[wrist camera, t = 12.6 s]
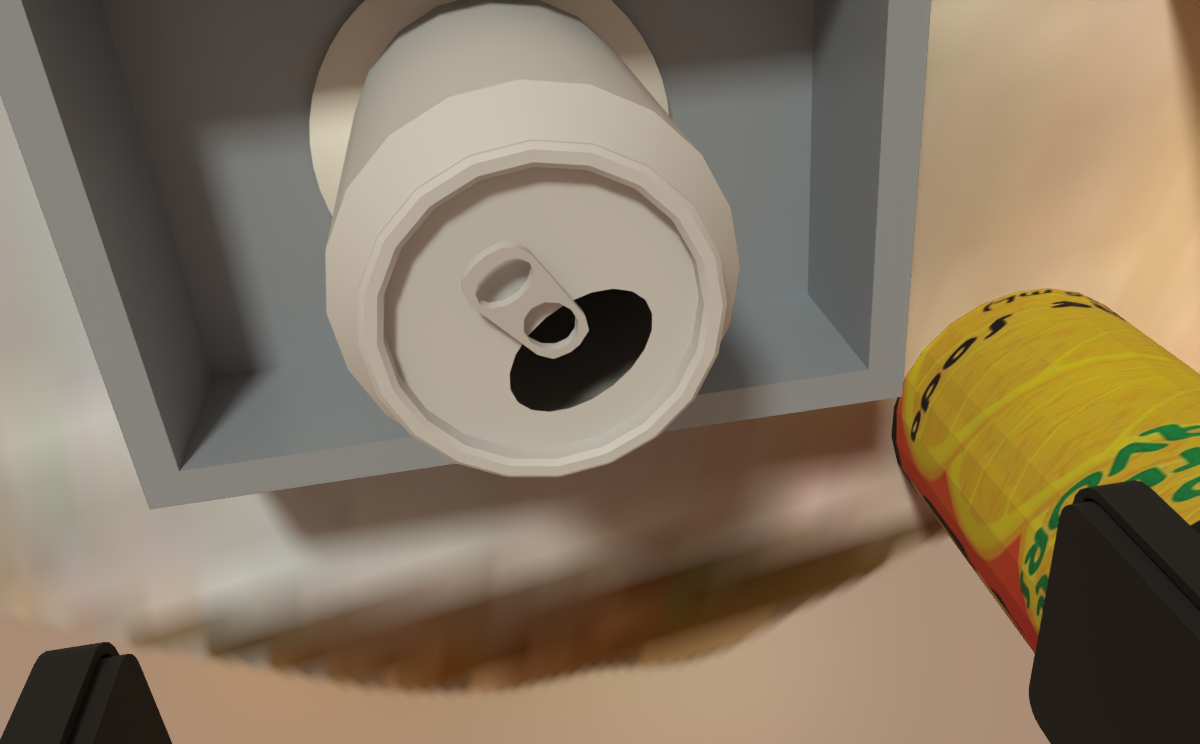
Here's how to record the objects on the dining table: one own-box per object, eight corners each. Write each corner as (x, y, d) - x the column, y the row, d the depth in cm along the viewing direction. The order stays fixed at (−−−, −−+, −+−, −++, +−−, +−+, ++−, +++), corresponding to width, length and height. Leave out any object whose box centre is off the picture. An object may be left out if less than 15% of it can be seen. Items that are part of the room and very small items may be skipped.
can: (487, 316, 30) (525, 584, 20) (292, 123, 27) (212, 322, 16) (690, 147, 29) (848, 338, 18) (511, -79, 25) (578, -6, 15)
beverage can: (858, 366, 35) (1045, 603, 24) (1107, 242, 34) (1411, 433, 24) (932, 546, 39) (1117, 813, 29) (1154, 441, 38) (1428, 676, 28)
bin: (842, -186, 27) (944, -184, 21) (827, 305, 33) (901, 396, 28) (37, -109, 25) (-66, -88, 20) (194, 393, 32) (149, 509, 26)
